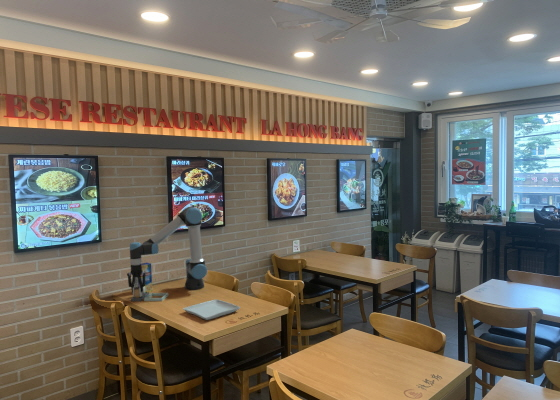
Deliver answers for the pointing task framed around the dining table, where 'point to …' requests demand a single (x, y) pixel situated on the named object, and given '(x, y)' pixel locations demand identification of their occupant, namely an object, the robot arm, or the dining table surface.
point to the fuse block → (140, 298)
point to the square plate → (211, 309)
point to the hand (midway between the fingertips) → (137, 296)
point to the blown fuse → (137, 292)
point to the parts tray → (156, 298)
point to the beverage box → (146, 277)
